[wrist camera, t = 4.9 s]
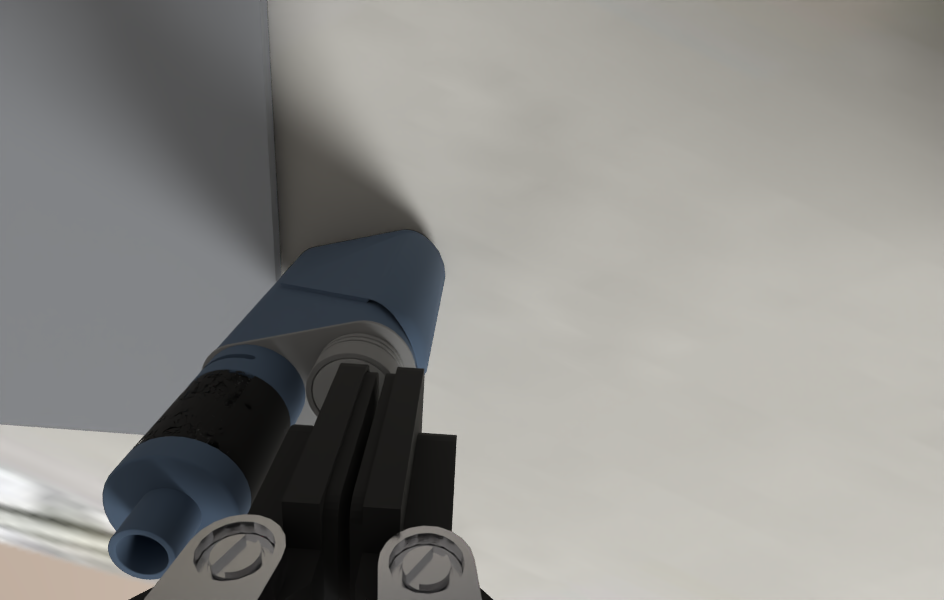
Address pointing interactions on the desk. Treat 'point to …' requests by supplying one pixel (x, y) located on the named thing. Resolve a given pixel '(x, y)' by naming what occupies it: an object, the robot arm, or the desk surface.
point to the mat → (129, 201)
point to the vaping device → (270, 389)
